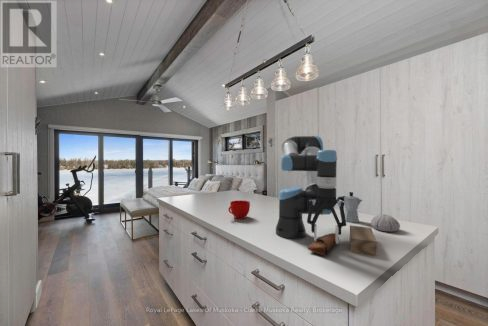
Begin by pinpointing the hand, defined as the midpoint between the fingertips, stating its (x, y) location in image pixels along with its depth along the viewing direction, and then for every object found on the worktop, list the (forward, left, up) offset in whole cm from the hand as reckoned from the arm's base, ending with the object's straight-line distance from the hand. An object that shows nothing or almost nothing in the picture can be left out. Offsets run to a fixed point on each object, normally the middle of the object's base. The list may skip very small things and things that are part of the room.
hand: (325, 241), depth 88 cm
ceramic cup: (-49, +38, -4) cm, 62 cm away
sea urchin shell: (+35, +37, -4) cm, 51 cm away
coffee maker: (+20, +50, -4) cm, 54 cm away
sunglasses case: (-1, +2, -3) cm, 3 cm away
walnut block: (+16, +9, -4) cm, 19 cm away
